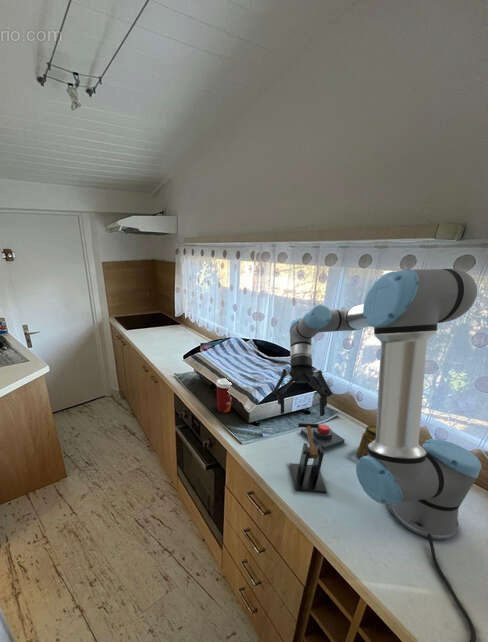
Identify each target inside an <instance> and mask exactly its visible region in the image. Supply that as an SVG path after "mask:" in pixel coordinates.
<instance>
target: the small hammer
mask: <svg viewBox="0 0 488 642" xmlns="http://www.w3.org/2000/svg"><path fill="white" fill-rule="evenodd" d="M318 424H319V423H311V422H298V424H297V425H298V428H304V429H305V428H307V434H308V438H307V440H308V448H309V451H310V454H309V459H313V460H314V459H316V458H317V456H318V452H317V446H314V445H315V443H313V438H312V432H311V428H318V426H319V425H318Z"/></svg>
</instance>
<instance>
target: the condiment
mask: <svg viewBox="0 0 488 642" xmlns="http://www.w3.org/2000/svg"><path fill="white" fill-rule="evenodd" d="M375 439H376V425H368V426H366V428H365V430H364V432H363V433H362V436H361V439H360V442H359V446H358V448H357V450H356V451H355V454H356V455H357V457H358V460H359V459H360V458H362V457H363V456H368V445H369V444H370V443H371V442H372V441H374V440H375Z"/></svg>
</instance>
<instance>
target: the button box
mask: <svg viewBox="0 0 488 642" xmlns="http://www.w3.org/2000/svg"><path fill="white" fill-rule="evenodd" d="M317 424H318V425H321V424H322V423H317ZM318 429H319V426H318V428H311V432H312V438H313V444H314V445H316V446H317V444H321V447H322V449H323V451H326V450H330V449H331V448H334V447H337V446H340V445H343V444H345V442H346V439H345V438H343V437H341V436H340V435H338V434H337V433H335V432H334V431H333V429H331V428H330V427H329V432H328V434H323V433H320V432H318ZM300 435H302V436H304V438H306V439H308V434H307V428H305V427H304V428H302V429H301V430H300Z"/></svg>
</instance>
